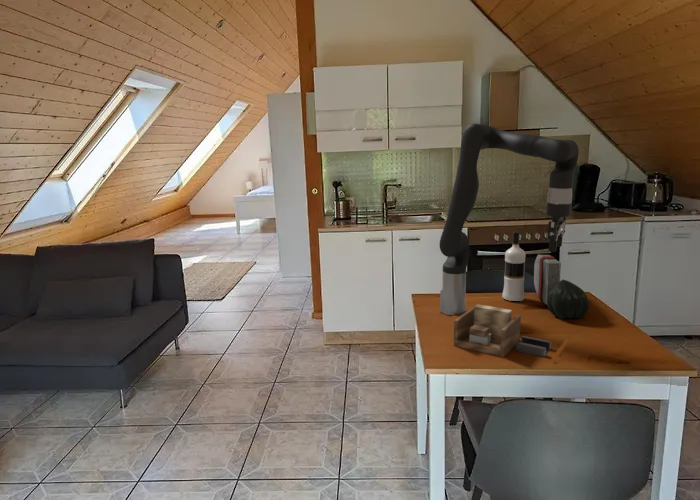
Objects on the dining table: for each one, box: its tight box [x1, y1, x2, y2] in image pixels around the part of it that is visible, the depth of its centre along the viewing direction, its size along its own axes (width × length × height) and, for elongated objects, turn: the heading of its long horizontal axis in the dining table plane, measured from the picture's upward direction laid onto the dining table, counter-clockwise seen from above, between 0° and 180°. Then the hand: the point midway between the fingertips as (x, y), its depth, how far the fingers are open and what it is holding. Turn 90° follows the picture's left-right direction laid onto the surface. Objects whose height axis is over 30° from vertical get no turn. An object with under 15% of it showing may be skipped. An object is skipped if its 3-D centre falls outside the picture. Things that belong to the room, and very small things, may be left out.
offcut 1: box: [470, 325, 489, 338], centre depth 161 cm, size 5×4×2 cm
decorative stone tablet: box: [533, 254, 562, 305], centre depth 211 cm, size 19×6×30 cm
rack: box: [453, 306, 522, 358], centre depth 164 cm, size 17×16×10 cm
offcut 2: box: [469, 334, 491, 344], centre depth 161 cm, size 6×4×2 cm, turn 58°
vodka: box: [501, 231, 527, 302], centre depth 209 cm, size 9×9×30 cm
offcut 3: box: [469, 341, 490, 347], centre depth 162 cm, size 6×4×2 cm, turn 54°
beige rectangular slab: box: [473, 303, 513, 337], centre depth 167 cm, size 12×3×11 cm, turn 54°
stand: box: [515, 335, 552, 358], centre depth 158 cm, size 9×8×4 cm
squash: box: [546, 279, 590, 319], centre depth 189 cm, size 14×15×15 cm
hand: (555, 249), depth 164 cm, fingers open, 8 cm apart
